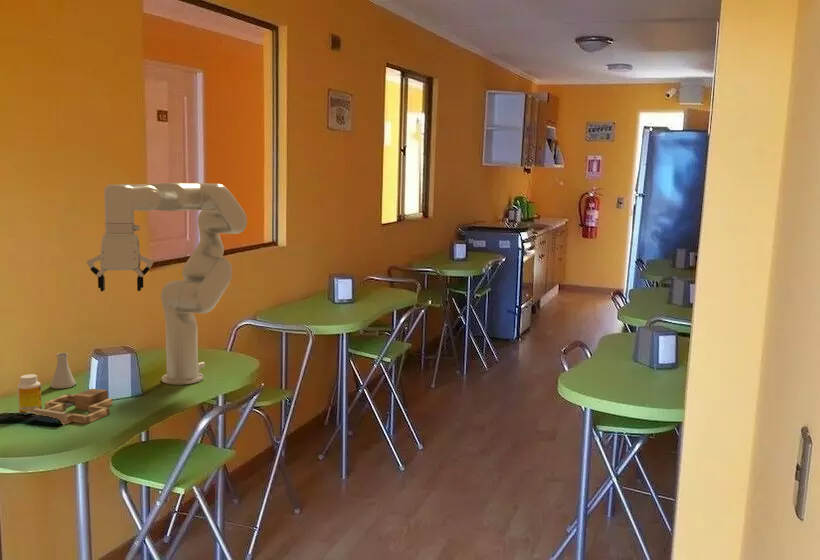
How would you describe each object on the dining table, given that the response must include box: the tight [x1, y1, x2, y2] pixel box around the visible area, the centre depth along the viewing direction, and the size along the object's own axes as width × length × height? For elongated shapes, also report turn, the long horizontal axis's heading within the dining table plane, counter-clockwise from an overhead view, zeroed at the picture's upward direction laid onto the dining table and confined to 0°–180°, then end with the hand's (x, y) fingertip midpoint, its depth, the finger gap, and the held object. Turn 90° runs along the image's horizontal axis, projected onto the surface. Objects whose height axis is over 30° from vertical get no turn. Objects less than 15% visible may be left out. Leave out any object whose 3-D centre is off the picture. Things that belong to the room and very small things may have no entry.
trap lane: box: [33, 393, 114, 426], centre depth 199 cm, size 18×19×3 cm
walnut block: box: [74, 387, 109, 411], centre depth 205 cm, size 7×5×4 cm
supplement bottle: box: [16, 373, 43, 414], centre depth 198 cm, size 6×6×10 cm
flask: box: [49, 352, 77, 389], centre depth 223 cm, size 7×7×10 cm
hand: (121, 290), depth 206 cm, fingers open, 9 cm apart
